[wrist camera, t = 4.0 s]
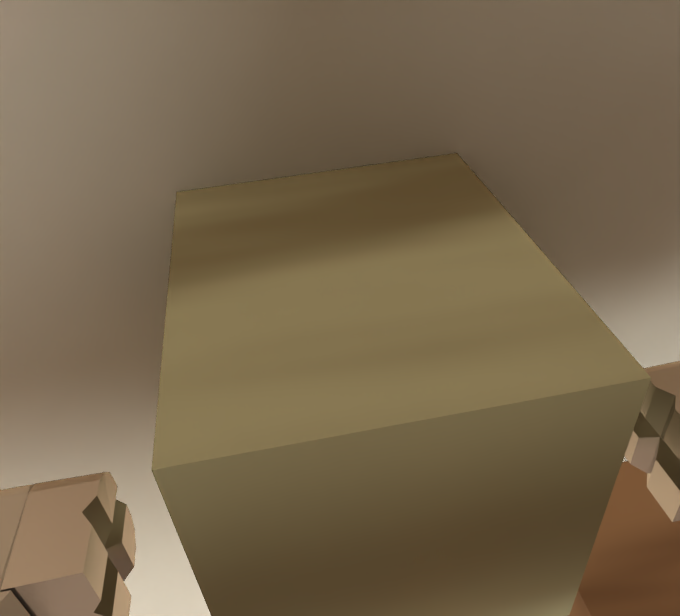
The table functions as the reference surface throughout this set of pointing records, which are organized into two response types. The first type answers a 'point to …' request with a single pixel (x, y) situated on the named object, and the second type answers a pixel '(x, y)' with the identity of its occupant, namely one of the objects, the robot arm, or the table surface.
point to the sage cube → (382, 400)
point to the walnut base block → (632, 556)
